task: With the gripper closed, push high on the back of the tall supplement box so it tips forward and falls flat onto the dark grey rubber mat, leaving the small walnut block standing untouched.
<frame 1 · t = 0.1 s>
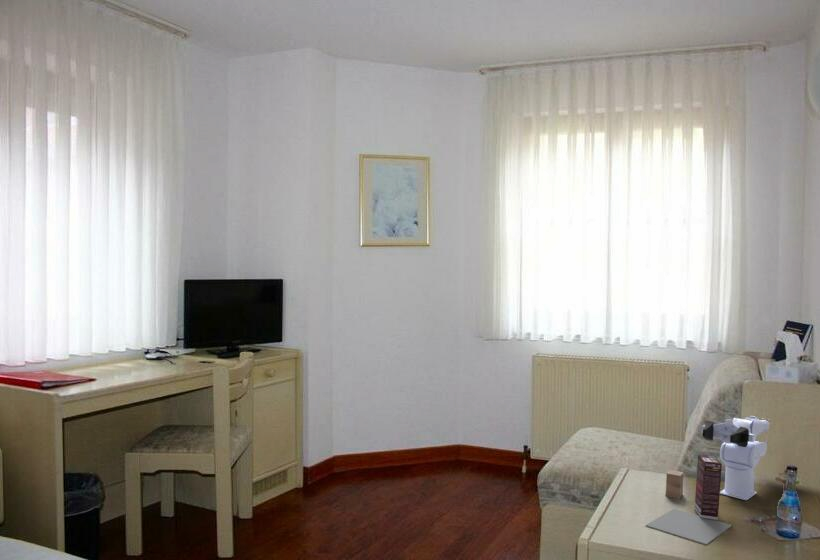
hand: (717, 435, 196), 22 cm above the table, tool horizontal, fingers open, 7 cm apart
walnut block: (674, 495, 208), on the table
mat: (688, 526, 184), on the table
supplement box: (706, 515, 192), on the table, touching mat
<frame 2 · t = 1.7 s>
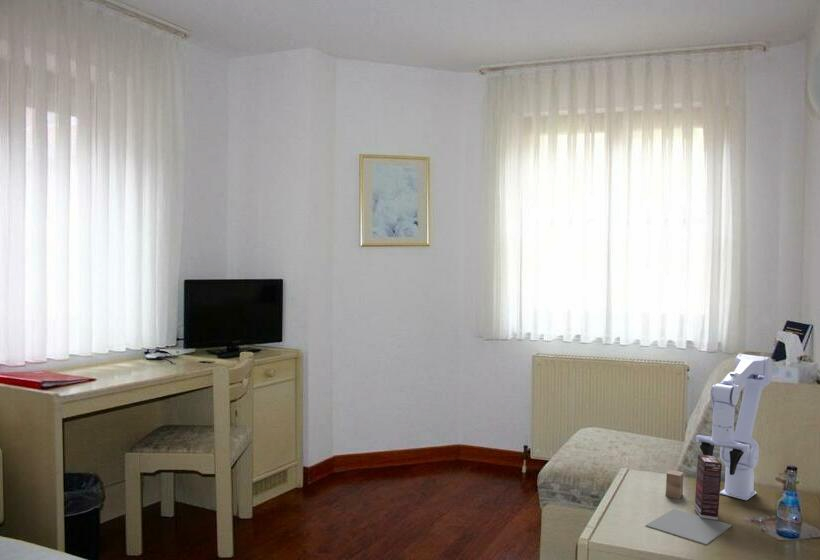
hand: (720, 471, 199), 10 cm above the table, tool pointing down, fingers open, 6 cm apart
nothing on the table moved.
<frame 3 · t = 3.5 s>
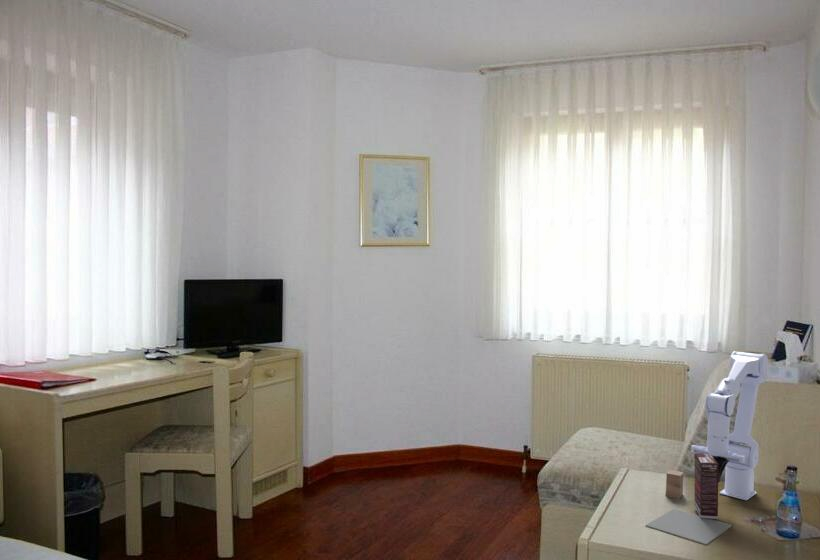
hand: (715, 482, 197), 8 cm above the table, tool pointing down, fingers closed
supplement box: (706, 513, 192), on the table, touching mat
everything else where it was.
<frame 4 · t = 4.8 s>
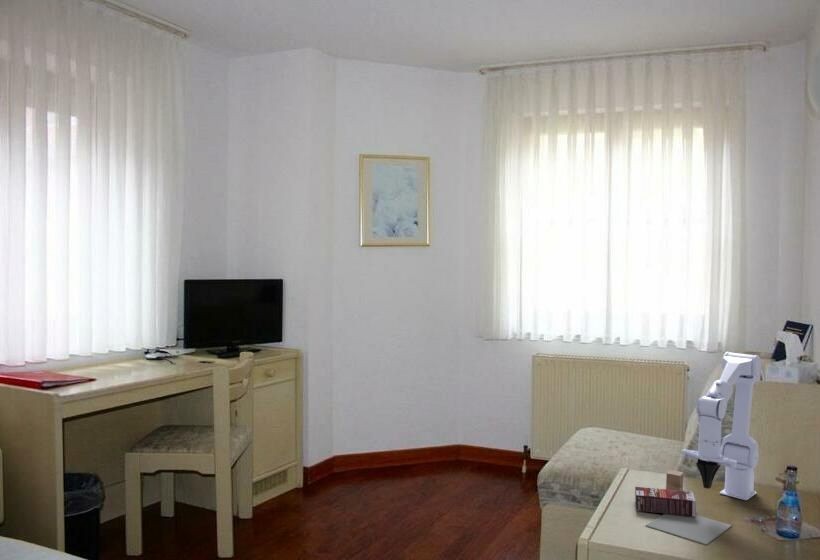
hand: (707, 487, 192), 8 cm above the table, tool pointing down, fingers closed
supplement box: (695, 503, 193), point 3 cm above the table, touching mat
everything else where it was.
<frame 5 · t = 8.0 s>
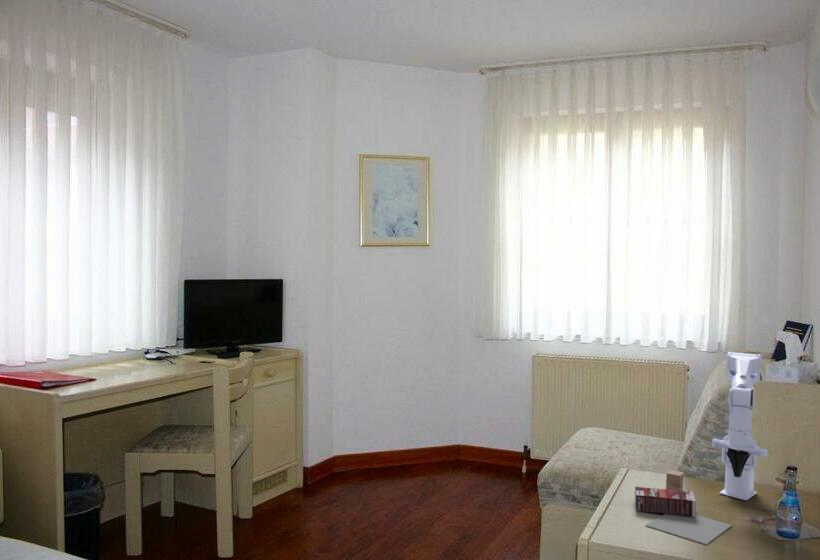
hand: (737, 476, 195), 10 cm above the table, tool pointing down, fingers closed
nothing on the table moved.
at the end: supplement box tilted 92°; supplement box touching mat, table; walnut block tilted 0° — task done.
